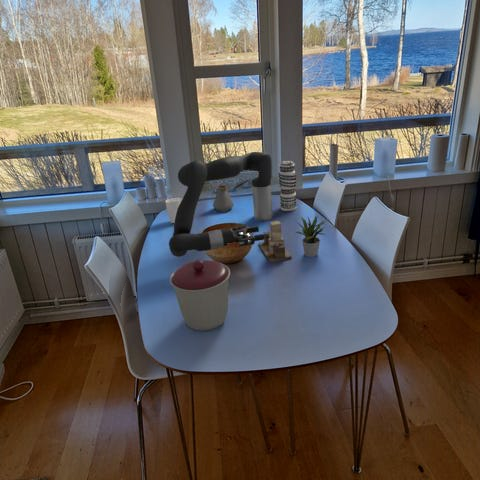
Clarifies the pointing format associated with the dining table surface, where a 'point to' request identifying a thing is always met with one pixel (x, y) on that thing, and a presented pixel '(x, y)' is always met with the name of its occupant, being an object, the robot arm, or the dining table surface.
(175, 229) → the robot arm
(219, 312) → the canister
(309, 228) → the house plant
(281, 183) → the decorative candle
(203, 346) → the dining table surface
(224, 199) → the coffee pot
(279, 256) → the base board
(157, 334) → the dining table surface
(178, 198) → the cup
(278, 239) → the tan stepped block
